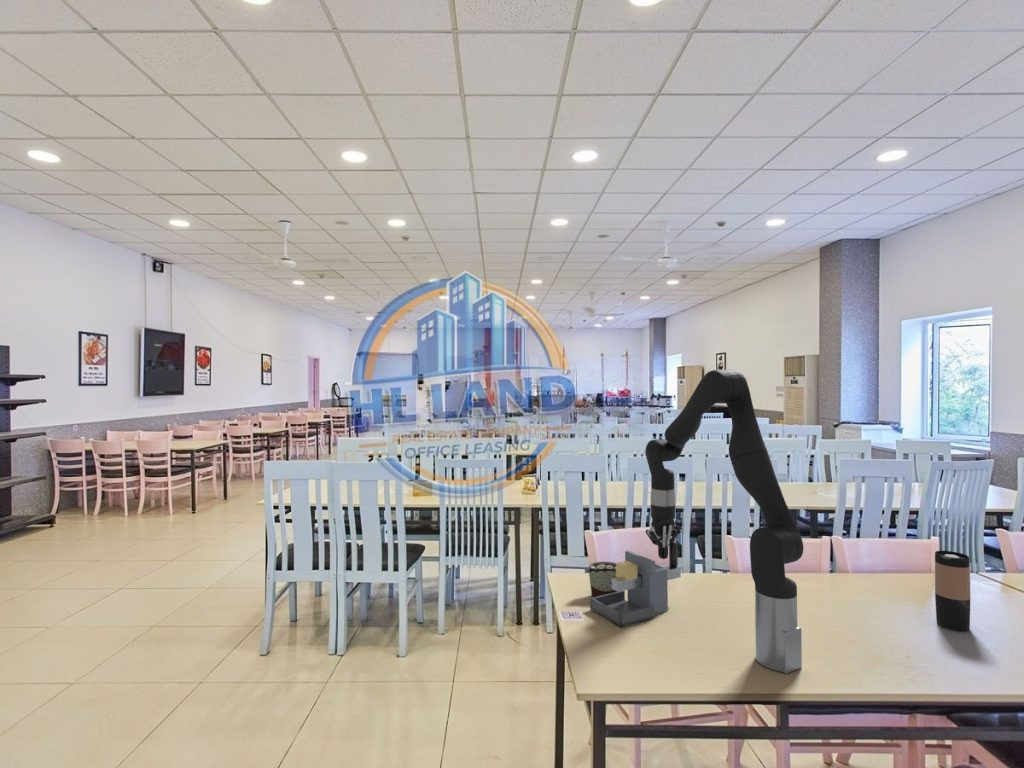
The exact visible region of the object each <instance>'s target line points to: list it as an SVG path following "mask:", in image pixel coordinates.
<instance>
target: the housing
mask: <svg viewBox="0 0 1024 768" xmlns="http://www.w3.org/2000/svg"><path fill="white" fill-rule="evenodd" d="M624 553H625V554H624V556H625V558H624V559H625V560H624V561H629V562H631V563H634V564H636V565H638V574H640V575H642V586H641V587H637V588H633V589H629V590H627V601H628V602H630V603H632V604H633V605H635V606H637V607H639V608H645V607H648V606H654V614H655V615H658V614H661V612H662V613H666V612H668V611H669V610H668V607H669V606H668V605H669V604H668V602H669V601H668V594H669V593H668V589H669V588H668V580H667V569H666V568H663V567H664V566H661V565H658V564H656V560H653V559H651V558H648V557H646V556H643V555H640V554H639V553H636V552H633V551H631V550H625V551H624Z"/></svg>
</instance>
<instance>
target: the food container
mask: <svg viewBox="0 0 1024 768" xmlns="http://www.w3.org/2000/svg"><path fill="white" fill-rule="evenodd" d="M616 563H617V562H614V561H613V562H612V561H595V562H592V563H590V564H589V565H588V567H587V569H586V574H588V576H589V582H590V593H591V594H590V595H591V598H593V597H597V596H601V595H606V594H610V593H614V592H617V591H615V590H614V589H612V578H617V577H616Z"/></svg>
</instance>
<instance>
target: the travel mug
mask: <svg viewBox="0 0 1024 768" xmlns="http://www.w3.org/2000/svg"><path fill="white" fill-rule="evenodd" d="M970 562H971V561H970V557H969V556H968V555H967V554H964V553H961V552H957V551H950V550H936V551H934V601H935V618H936V624H937V625H938V626H940V627H942V628H944V629H947V630H950V631H955V632H962V633H963V632H964V633H965V632H970V627H971V573H970V572H971V567H970Z"/></svg>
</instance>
